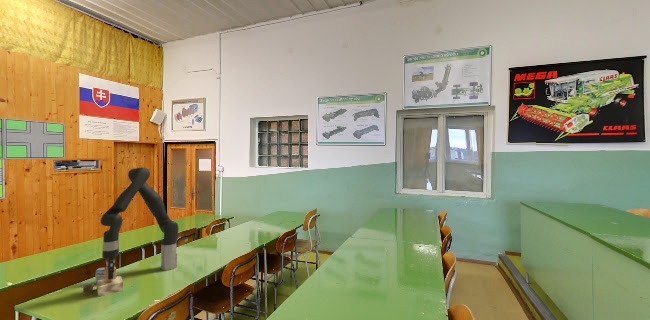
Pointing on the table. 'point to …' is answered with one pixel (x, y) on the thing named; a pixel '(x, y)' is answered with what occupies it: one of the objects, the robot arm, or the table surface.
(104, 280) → the terracotta block
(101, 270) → the medicine box
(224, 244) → the table surface
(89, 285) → the walnut block
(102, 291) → the birch block
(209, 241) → the table surface
